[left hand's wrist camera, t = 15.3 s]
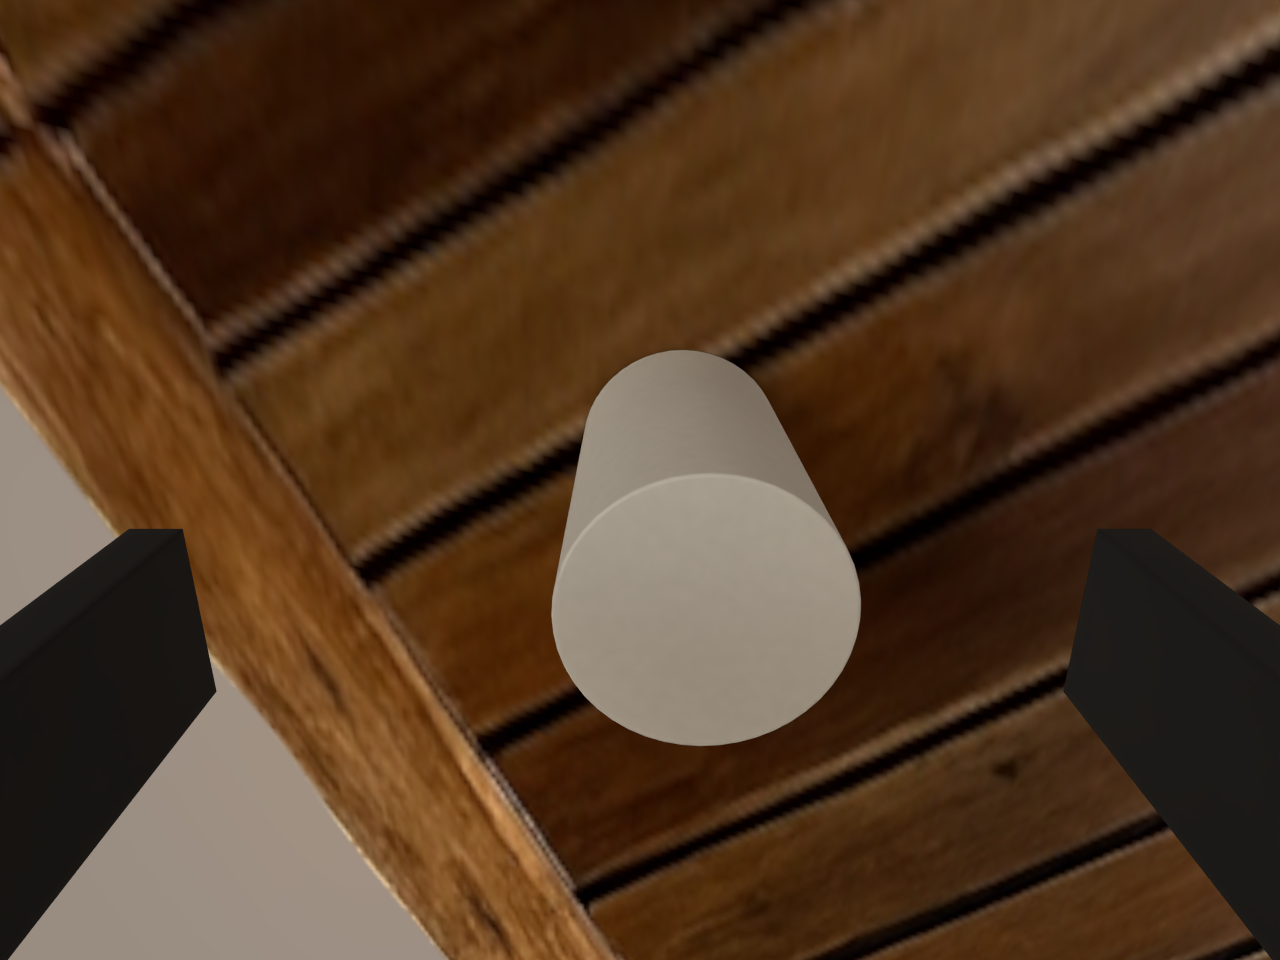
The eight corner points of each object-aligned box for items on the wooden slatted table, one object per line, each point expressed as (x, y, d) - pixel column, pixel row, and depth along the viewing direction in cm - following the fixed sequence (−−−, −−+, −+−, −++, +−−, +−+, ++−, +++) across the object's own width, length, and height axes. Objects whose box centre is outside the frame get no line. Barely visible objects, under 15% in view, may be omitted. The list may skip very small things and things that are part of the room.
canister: (584, 532, 30) (554, 746, 19) (582, 347, 28) (547, 471, 17) (770, 534, 30) (846, 748, 20) (784, 350, 28) (878, 475, 17)
